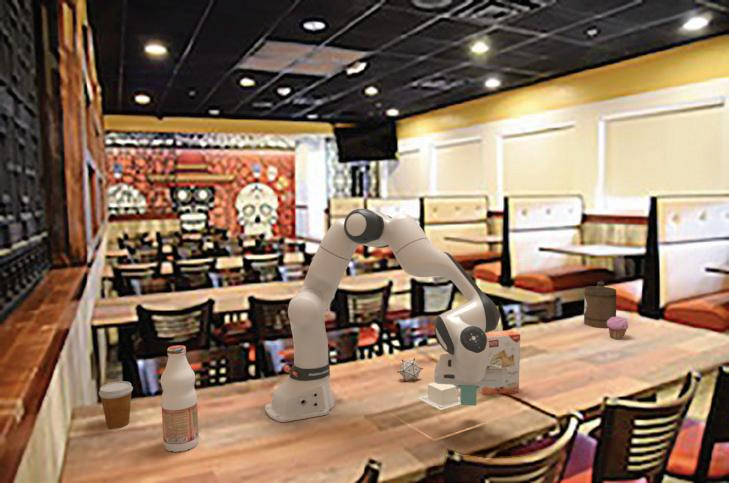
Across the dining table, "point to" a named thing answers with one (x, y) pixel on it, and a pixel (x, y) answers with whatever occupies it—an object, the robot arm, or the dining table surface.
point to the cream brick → (442, 393)
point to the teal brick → (468, 395)
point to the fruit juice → (179, 402)
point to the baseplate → (440, 407)
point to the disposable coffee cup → (116, 403)
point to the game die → (410, 370)
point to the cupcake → (617, 327)
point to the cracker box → (504, 360)
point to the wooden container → (599, 305)
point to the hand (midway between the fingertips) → (468, 387)
